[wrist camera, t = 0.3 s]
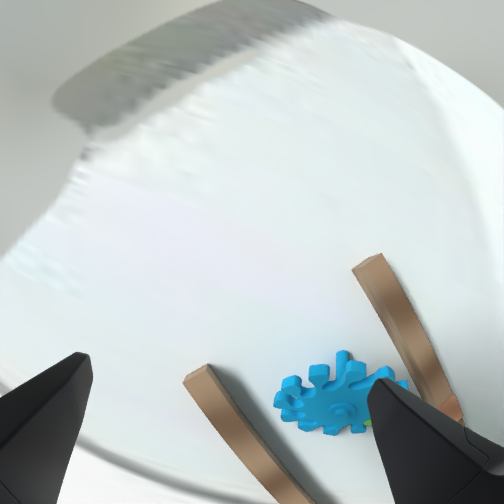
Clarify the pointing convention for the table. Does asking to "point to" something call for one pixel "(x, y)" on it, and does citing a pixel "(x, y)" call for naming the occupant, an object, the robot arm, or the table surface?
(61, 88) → the table surface
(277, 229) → the table surface
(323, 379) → the gear
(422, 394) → the guide channel
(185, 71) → the table surface
